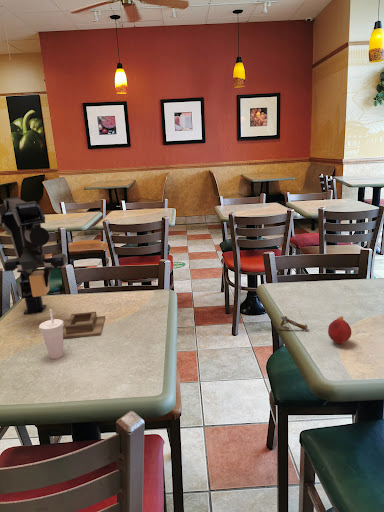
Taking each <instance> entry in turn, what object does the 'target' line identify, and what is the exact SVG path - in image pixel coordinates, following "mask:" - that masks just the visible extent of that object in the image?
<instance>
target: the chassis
mask: <svg viewBox="0 0 384 512" xmlns="http://www.w3.org/2000/svg"><path fill="white" fill-rule="evenodd" d="M105 320H106V315H102V316H101V315H100V316H98V315H97V311H88V312H77V313H71V314H70V317H69V318H68V319H65V321H64V322H63V324H64V326H63V340H70V339H77V338H78V339H79V338H86V337H87V338H88V337H97V336H101V335H102V332H103V328H104V325H105Z"/></svg>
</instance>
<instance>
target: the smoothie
mask: <svg viewBox="0 0 384 512" xmlns="http://www.w3.org/2000/svg"><path fill="white" fill-rule="evenodd" d="M48 310H49V315H50V319H48V320H46V321H43V322H42V323H40V324H39V326H38V327H39V328H38V329H39V331H40V332H41V335H42V339H43V341H44V344H45V346H46V351H47V353H48V357H49V358H50V359H51V360H56V359H60V358H62V357H63V356H64V339H63V326H64V320H63V319H58V318H54V316H53V310H52V308H49V309H48Z"/></svg>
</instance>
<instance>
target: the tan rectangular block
mask: <svg viewBox="0 0 384 512" xmlns="http://www.w3.org/2000/svg"><path fill="white" fill-rule="evenodd" d="M39 270H40V271H34V272H33V273H32V274H31V275H30V276H29V279H30V285H31V290H32V295H33V297H37V296H41V297H45V296H47V294H48V293H49V291H51V289H50V283H49V284H48V287H46V284H45V274H44V270H43V269H39Z"/></svg>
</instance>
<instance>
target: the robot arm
mask: <svg viewBox="0 0 384 512" xmlns="http://www.w3.org/2000/svg"><path fill="white" fill-rule="evenodd" d="M0 224H1V225H2V228H3V230H4V231H5V232H7V234H8V235H10V239H11V242H12V245H13V249H14V252H15V255H16V258H15V257H14V258H8V260H6V261H5V262H4V263H3V270H4V272H12V271H15V270H16V269H17V270H16V272H17V273H19V277H18V282H17V294H18V296H19V297H20V298H21V299H22V300H23V299H24V302H25V308H26V309H25V310H24V312H23V314H24V315H28V314H37V313H43V311H44V310H45V309H46V308H47V304H44V303H43V298H42V297H43V296H37V297H33V295H32V290H31V285H30V279H29V276H30V275H31V274H32V273H33V272H34V271H40V270H41V269H39V268H38V267H39V266H41V265H44V267H43V269H42V270H44V274H45V284H46V287H48V284H49V285H50V278H51V273H52V271H53V269H54V268H55V267H63V266H66V264H67V263H68V256H67V255H66V254H65V253H58V254H53V255H52V256H51V257H47V258H46V253H45V252H44V246H45V245H47V244H48V242H49V241H50V233H49V231H48V230H47V229H46V228H45V227H42V226H41V224H46V215H45V214H44V211H43V210H42V207H41V206H40V205H39V203H37V201H35V200H33V201H25V200H23V199H21V197H18V196H15V197H8V198H7V197H6V198H5V199H3V203H2V205H1V206H0Z"/></svg>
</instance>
